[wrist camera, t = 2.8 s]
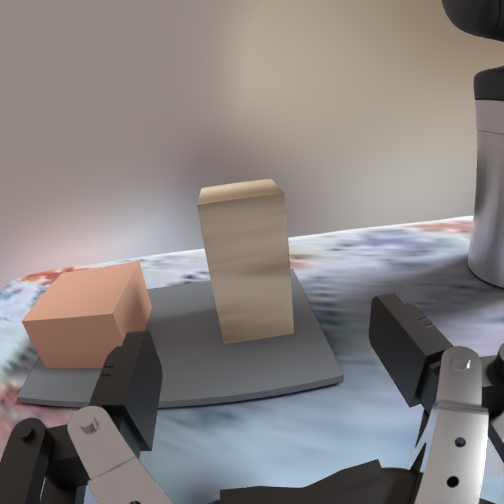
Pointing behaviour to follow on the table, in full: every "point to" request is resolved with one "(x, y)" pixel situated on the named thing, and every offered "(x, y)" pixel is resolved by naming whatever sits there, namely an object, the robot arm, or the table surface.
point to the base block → (88, 315)
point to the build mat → (206, 356)
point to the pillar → (248, 258)
